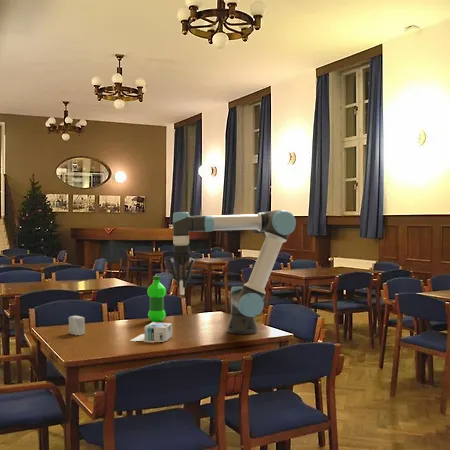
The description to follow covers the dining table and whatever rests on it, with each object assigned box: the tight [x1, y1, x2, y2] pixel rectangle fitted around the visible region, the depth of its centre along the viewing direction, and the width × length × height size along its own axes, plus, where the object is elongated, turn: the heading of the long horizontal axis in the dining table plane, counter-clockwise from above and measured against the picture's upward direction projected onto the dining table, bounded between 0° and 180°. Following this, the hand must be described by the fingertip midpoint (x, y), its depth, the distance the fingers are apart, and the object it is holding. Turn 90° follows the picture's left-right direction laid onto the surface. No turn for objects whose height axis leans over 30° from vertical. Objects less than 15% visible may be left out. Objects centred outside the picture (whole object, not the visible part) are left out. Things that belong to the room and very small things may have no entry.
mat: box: [129, 333, 165, 343], centre depth 276 cm, size 16×15×1 cm
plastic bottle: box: [146, 275, 167, 323], centre depth 319 cm, size 10×10×25 cm
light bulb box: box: [143, 321, 173, 342], centre depth 274 cm, size 11×7×11 cm
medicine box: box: [68, 315, 86, 336], centre depth 286 cm, size 8×4×9 cm, turn 47°
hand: (182, 294), depth 272 cm, fingers closed
